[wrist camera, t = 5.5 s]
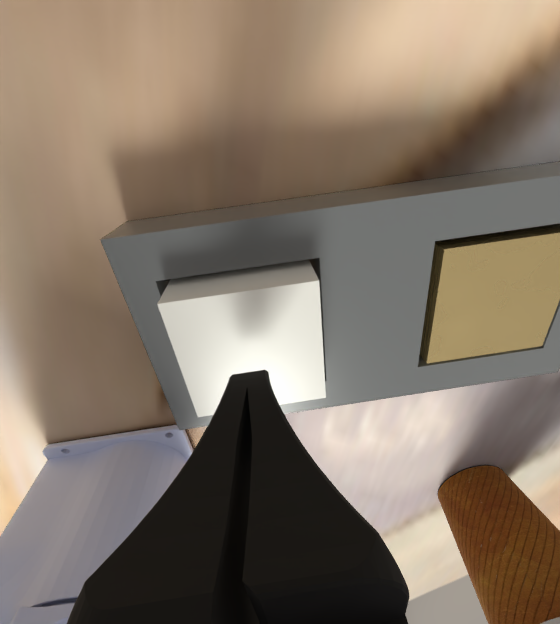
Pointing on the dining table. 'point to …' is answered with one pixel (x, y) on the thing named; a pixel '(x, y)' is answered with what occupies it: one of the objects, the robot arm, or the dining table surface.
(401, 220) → the panel
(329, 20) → the dining table surface
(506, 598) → the disposable coffee cup
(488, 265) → the brass button
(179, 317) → the white button
